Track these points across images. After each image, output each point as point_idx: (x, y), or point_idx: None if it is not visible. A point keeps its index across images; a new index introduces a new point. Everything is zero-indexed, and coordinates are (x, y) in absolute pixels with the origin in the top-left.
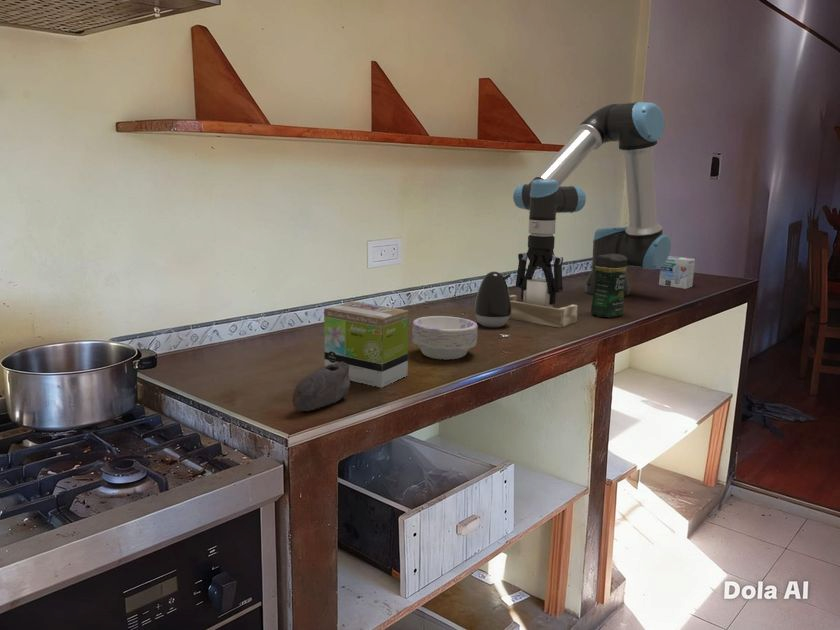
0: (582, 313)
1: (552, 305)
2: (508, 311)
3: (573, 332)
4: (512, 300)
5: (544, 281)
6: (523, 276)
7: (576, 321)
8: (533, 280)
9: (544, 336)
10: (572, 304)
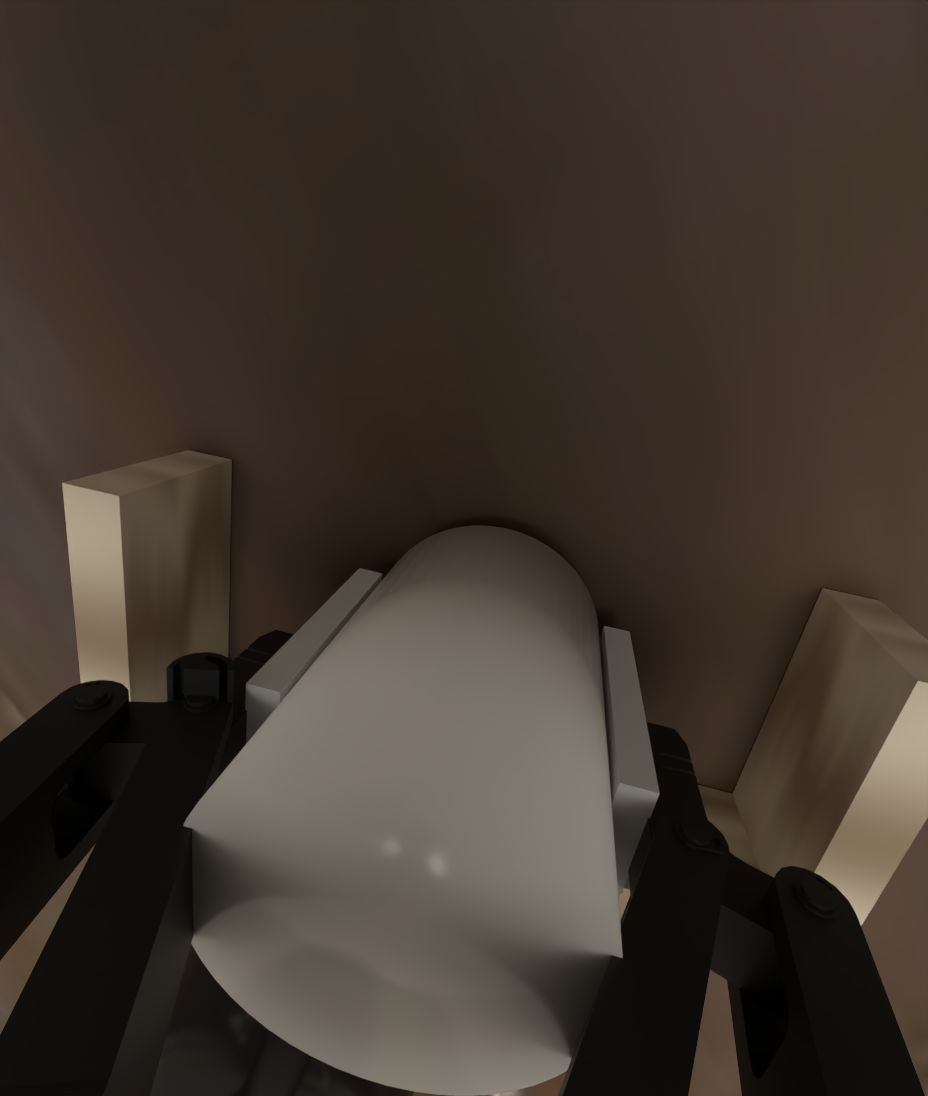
0: (898, 51)
1: (637, 690)
2: (413, 1092)
3: (896, 927)
4: (154, 565)
5: (510, 1003)
6: (22, 834)
7: (883, 607)
8: (307, 973)
9: (713, 1056)
10: (916, 689)
